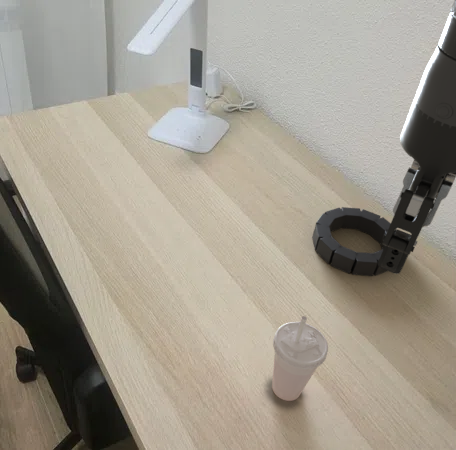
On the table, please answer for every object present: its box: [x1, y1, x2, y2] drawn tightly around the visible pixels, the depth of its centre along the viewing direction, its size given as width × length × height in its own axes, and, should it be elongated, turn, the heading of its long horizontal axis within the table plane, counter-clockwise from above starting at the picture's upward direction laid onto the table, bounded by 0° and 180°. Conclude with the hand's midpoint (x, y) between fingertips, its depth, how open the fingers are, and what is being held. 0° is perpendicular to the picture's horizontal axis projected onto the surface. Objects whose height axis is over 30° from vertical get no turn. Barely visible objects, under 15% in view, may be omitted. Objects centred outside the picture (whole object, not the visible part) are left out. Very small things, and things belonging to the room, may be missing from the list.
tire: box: [311, 206, 391, 277], centre depth 92 cm, size 14×14×3 cm
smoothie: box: [271, 315, 329, 402], centre depth 67 cm, size 6×6×14 cm
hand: (400, 244), depth 57 cm, fingers open, 8 cm apart
